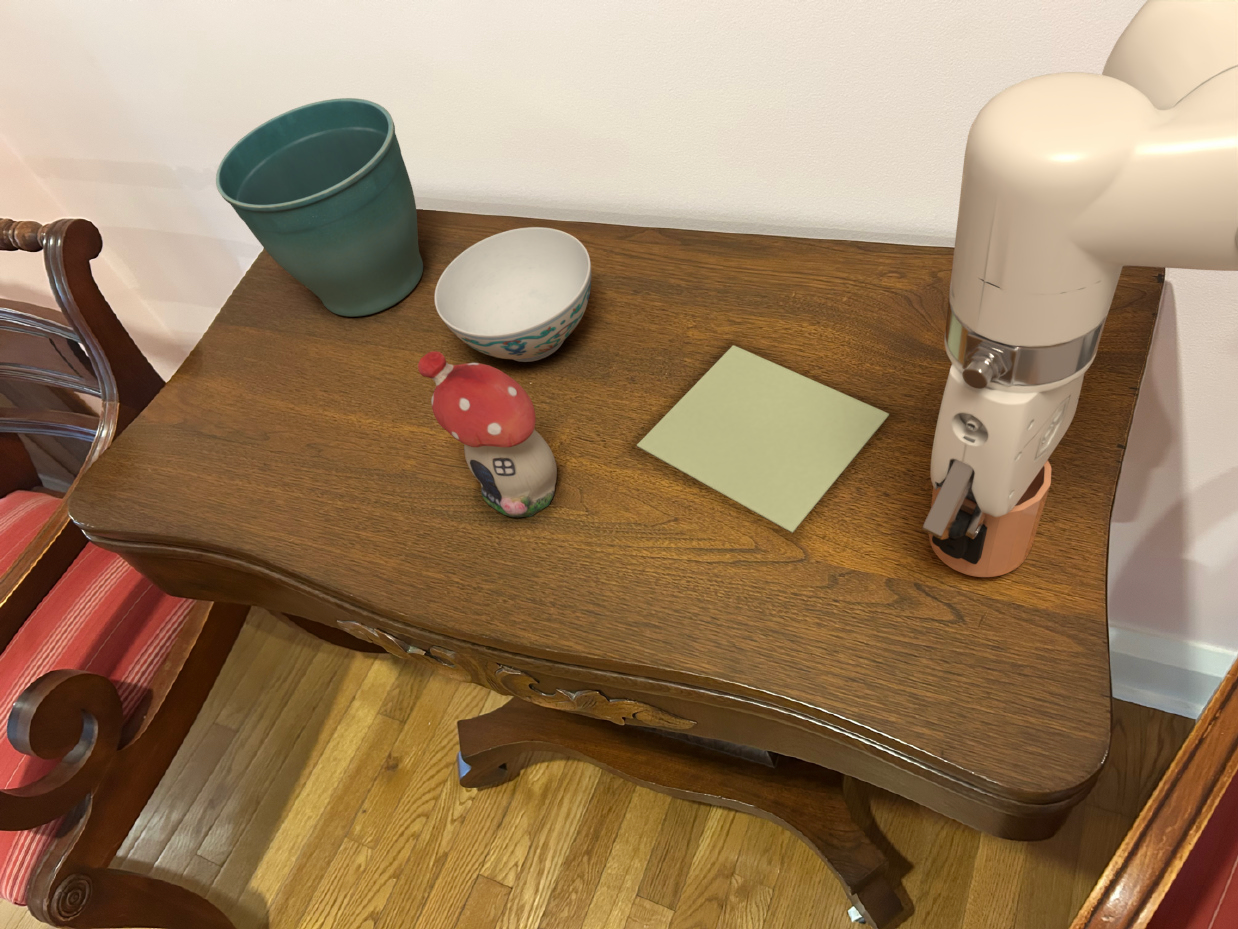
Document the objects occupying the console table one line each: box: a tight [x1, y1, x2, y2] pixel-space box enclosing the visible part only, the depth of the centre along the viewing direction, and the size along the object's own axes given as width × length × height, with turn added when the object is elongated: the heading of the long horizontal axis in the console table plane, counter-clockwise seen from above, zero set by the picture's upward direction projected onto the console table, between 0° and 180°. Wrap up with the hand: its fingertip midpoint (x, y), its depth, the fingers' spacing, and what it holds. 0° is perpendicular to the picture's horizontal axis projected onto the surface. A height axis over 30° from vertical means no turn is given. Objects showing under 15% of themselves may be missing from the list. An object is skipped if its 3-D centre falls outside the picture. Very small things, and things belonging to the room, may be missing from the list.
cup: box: [928, 459, 1052, 578], centre depth 58 cm, size 7×7×8 cm
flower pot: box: [215, 97, 424, 318], centre depth 89 cm, size 18×18×17 cm
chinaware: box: [434, 226, 592, 363], centre depth 82 cm, size 15×15×8 cm
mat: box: [636, 345, 890, 534], centre depth 72 cm, size 16×14×1 cm
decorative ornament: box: [417, 350, 558, 518], centre depth 68 cm, size 9×7×15 cm
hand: (984, 510), depth 58 cm, fingers closed on cup, 6 cm apart
